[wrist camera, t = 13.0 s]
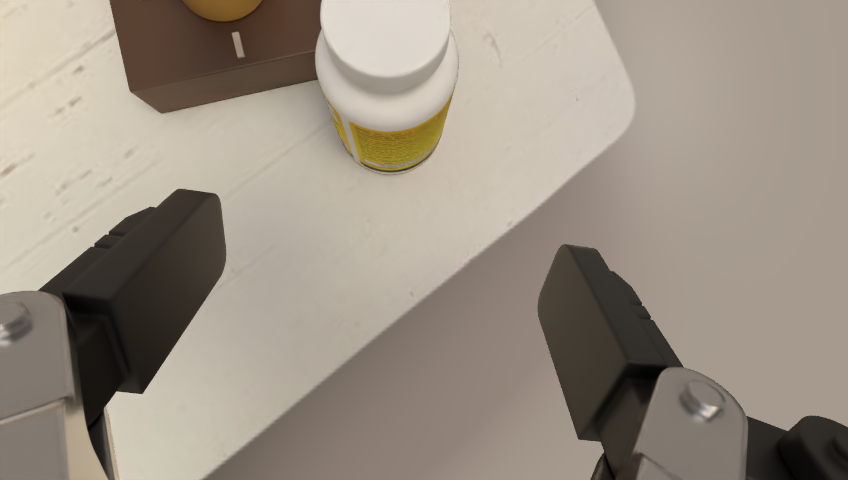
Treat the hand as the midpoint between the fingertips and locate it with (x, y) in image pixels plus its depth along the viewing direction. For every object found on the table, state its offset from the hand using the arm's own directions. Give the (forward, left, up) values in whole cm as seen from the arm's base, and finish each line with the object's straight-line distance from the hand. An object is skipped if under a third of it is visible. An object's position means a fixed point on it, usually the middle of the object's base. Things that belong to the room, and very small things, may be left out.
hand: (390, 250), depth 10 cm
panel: (+5, -17, -15) cm, 23 cm away
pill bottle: (-2, -8, -15) cm, 17 cm away
